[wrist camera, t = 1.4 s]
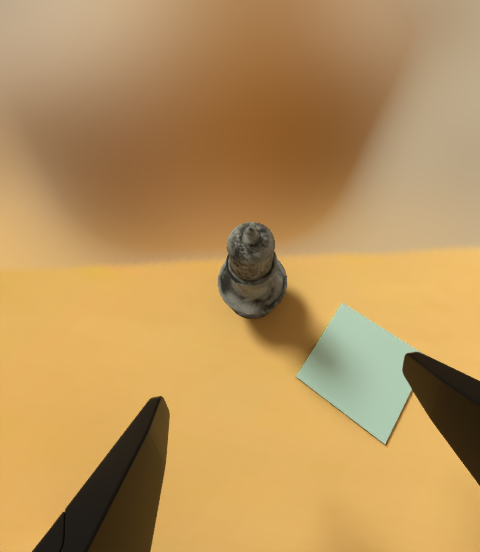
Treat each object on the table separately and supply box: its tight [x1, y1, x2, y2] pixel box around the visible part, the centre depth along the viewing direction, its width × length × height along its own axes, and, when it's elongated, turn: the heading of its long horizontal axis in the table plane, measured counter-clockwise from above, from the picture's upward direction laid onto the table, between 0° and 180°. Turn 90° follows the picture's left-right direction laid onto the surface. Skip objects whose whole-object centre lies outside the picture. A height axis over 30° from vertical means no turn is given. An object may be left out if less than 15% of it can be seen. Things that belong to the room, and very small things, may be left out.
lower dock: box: [296, 303, 421, 444], centre depth 21 cm, size 8×8×1 cm
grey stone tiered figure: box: [218, 222, 287, 319], centre depth 18 cm, size 6×6×12 cm
